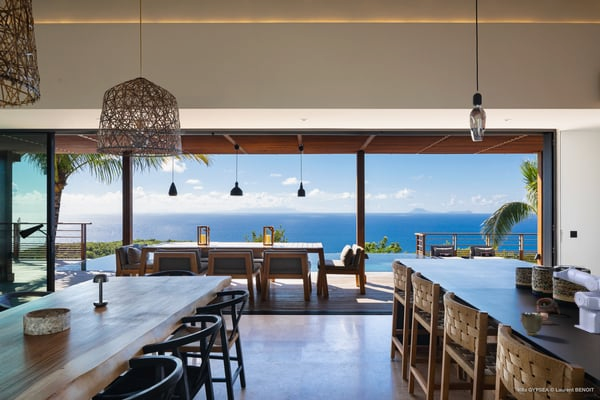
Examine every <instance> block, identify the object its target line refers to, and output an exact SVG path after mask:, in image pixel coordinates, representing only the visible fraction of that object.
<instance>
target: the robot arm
mask: <svg viewBox="0 0 600 400" xmlns="http://www.w3.org/2000/svg"><path fill="white" fill-rule="evenodd" d="M547 273H549V274H550V275H551V276H552V277H553V279H554V280H555V281H560V279H562V280H564V281H568V282H571V283H574V284H577V285H580V286H583V287H585V288H586V289H587V290H589V291H577V292H575V293H574V297H573V298H574V302H575V304H576V305H577V307H578V308H579V324H574V328H577V329H580V330H582V331H586V332H588V333H589V334H600V276H597V275H594V274H591V273H588V272H586V271H582V268H581V267H575V266H574V265H570V266H569V267H565V268H564V270H562V267H548V272H547Z"/></svg>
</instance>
